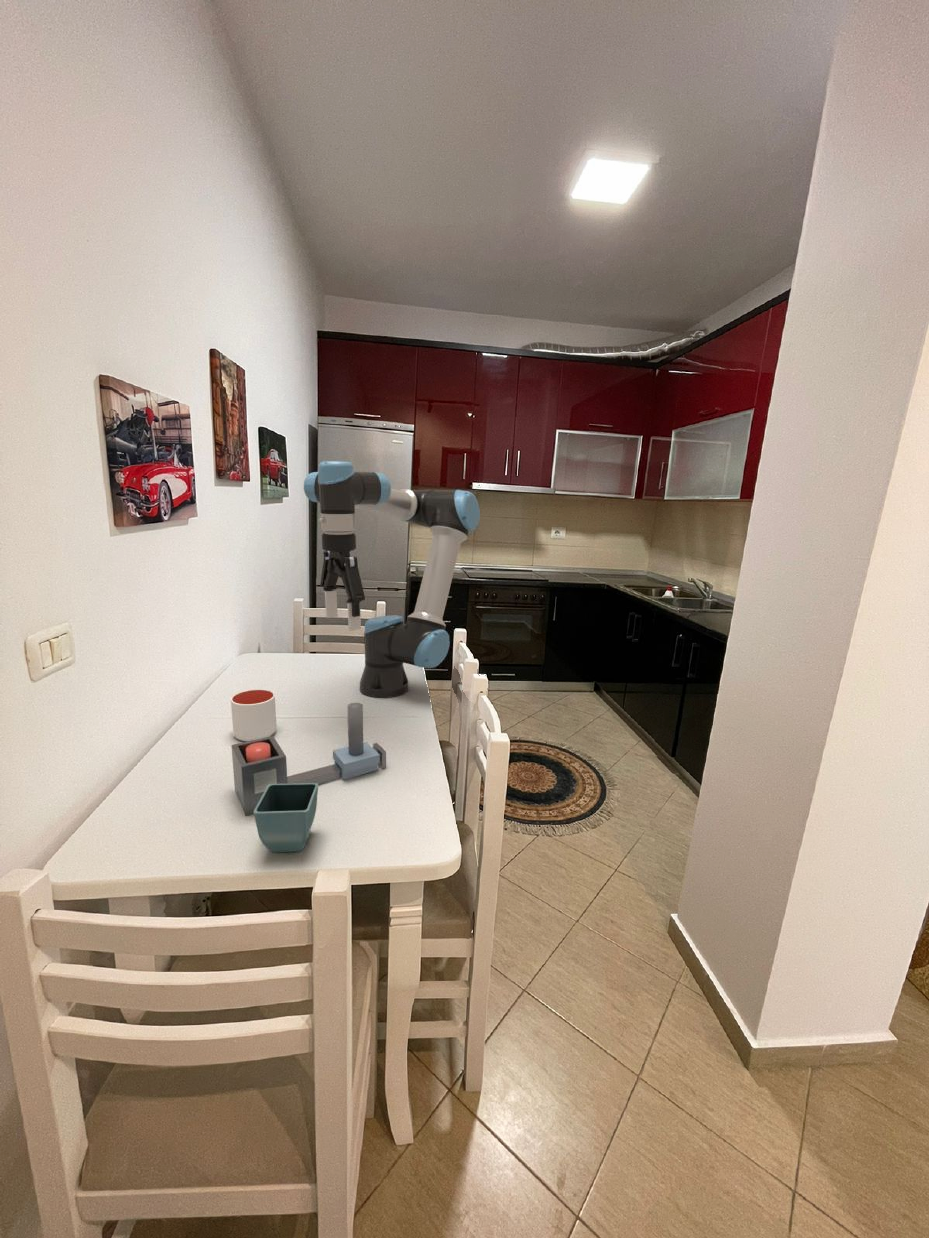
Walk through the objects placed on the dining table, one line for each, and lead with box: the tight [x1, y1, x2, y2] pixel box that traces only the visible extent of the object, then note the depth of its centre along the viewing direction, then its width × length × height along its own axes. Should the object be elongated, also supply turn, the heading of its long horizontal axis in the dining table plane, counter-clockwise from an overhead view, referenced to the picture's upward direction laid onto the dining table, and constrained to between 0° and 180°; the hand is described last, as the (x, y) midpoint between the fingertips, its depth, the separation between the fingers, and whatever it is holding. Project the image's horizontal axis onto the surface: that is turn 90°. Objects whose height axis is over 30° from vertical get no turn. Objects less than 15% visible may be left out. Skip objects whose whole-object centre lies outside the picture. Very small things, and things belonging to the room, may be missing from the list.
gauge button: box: [246, 742, 271, 763], centre depth 100 cm, size 4×4×5 cm
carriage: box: [332, 702, 380, 780], centre depth 111 cm, size 8×7×15 cm
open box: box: [230, 735, 288, 816], centre depth 101 cm, size 8×10×10 cm
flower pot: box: [252, 783, 319, 853], centre depth 88 cm, size 9×9×9 cm
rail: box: [287, 742, 387, 786], centre depth 110 cm, size 22×5×4 cm, turn 123°
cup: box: [230, 689, 278, 742], centre depth 127 cm, size 10×10×10 cm
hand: (342, 623), depth 122 cm, fingers open, 13 cm apart
